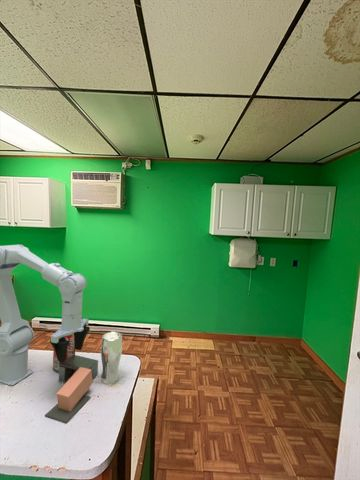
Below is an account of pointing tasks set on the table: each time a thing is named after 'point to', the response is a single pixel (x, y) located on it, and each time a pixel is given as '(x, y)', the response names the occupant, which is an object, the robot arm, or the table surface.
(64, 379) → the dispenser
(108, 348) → the beer glass
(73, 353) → the soda can
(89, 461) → the table surface
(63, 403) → the salmon orange block
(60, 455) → the table surface
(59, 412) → the mat
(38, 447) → the table surface
